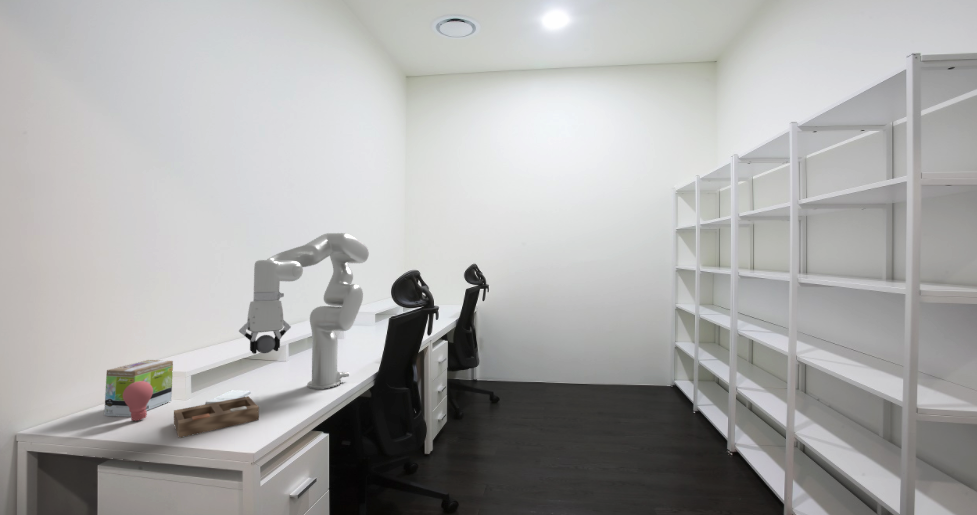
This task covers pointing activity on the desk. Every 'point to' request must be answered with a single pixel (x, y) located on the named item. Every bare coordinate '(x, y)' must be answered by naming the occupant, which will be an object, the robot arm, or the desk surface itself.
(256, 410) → the socket block
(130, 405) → the light bulb
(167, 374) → the tea box
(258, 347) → the dark grey ball
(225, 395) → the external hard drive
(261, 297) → the robot arm
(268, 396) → the desk surface
